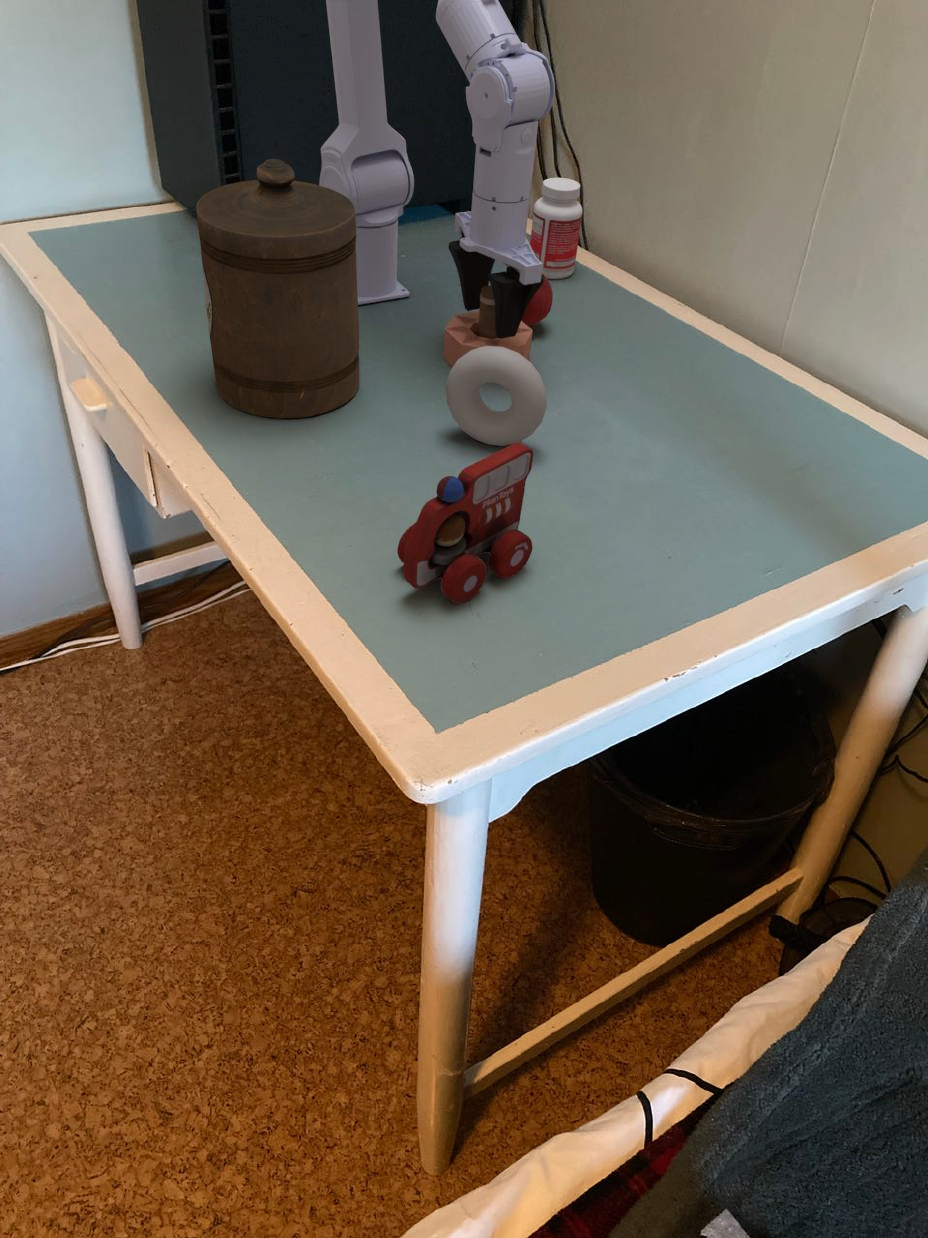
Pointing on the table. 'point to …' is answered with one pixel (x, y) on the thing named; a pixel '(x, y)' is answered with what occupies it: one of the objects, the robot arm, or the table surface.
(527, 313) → the onion
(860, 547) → the table surface
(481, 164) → the robot arm
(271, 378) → the wooden container
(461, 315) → the orange octagonal ring
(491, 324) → the case
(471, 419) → the donut
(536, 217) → the pill bottle
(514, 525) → the toy fire truck
